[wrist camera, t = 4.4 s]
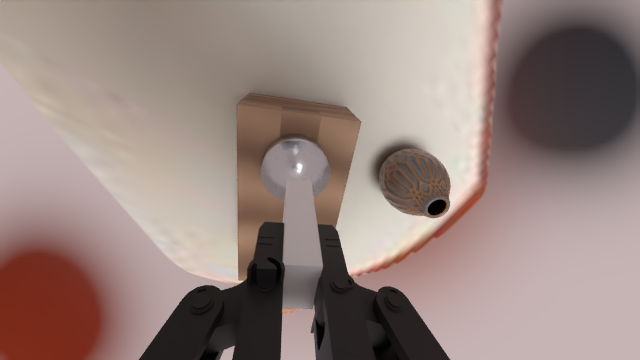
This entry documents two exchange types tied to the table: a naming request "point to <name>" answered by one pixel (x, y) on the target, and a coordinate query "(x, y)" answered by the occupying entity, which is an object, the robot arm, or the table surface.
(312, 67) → the table surface
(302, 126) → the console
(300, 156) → the grey plunger
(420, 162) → the vase
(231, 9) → the table surface
